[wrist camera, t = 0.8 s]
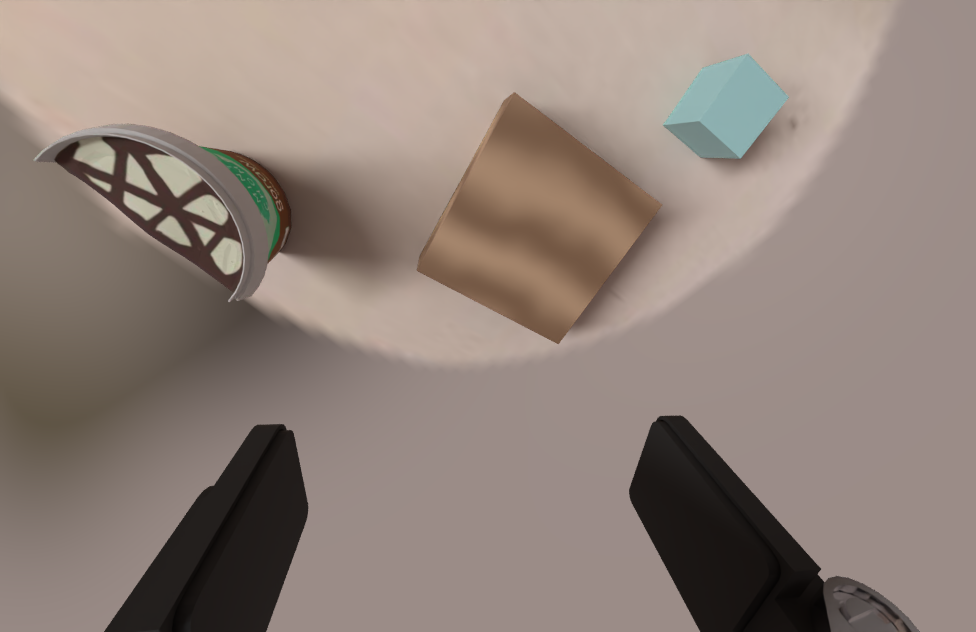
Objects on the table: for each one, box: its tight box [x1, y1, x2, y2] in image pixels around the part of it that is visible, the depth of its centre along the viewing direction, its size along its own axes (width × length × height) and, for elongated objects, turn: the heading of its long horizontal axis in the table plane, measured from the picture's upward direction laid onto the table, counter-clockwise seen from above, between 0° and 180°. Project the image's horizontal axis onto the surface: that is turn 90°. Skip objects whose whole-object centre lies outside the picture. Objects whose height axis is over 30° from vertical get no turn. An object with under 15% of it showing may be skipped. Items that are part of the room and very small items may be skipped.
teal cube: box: [663, 54, 789, 159], centre depth 29 cm, size 5×5×5 cm
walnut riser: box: [417, 92, 662, 344], centre depth 32 cm, size 15×15×4 cm
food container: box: [34, 124, 291, 302], centre depth 25 cm, size 12×6×10 cm, turn 41°
